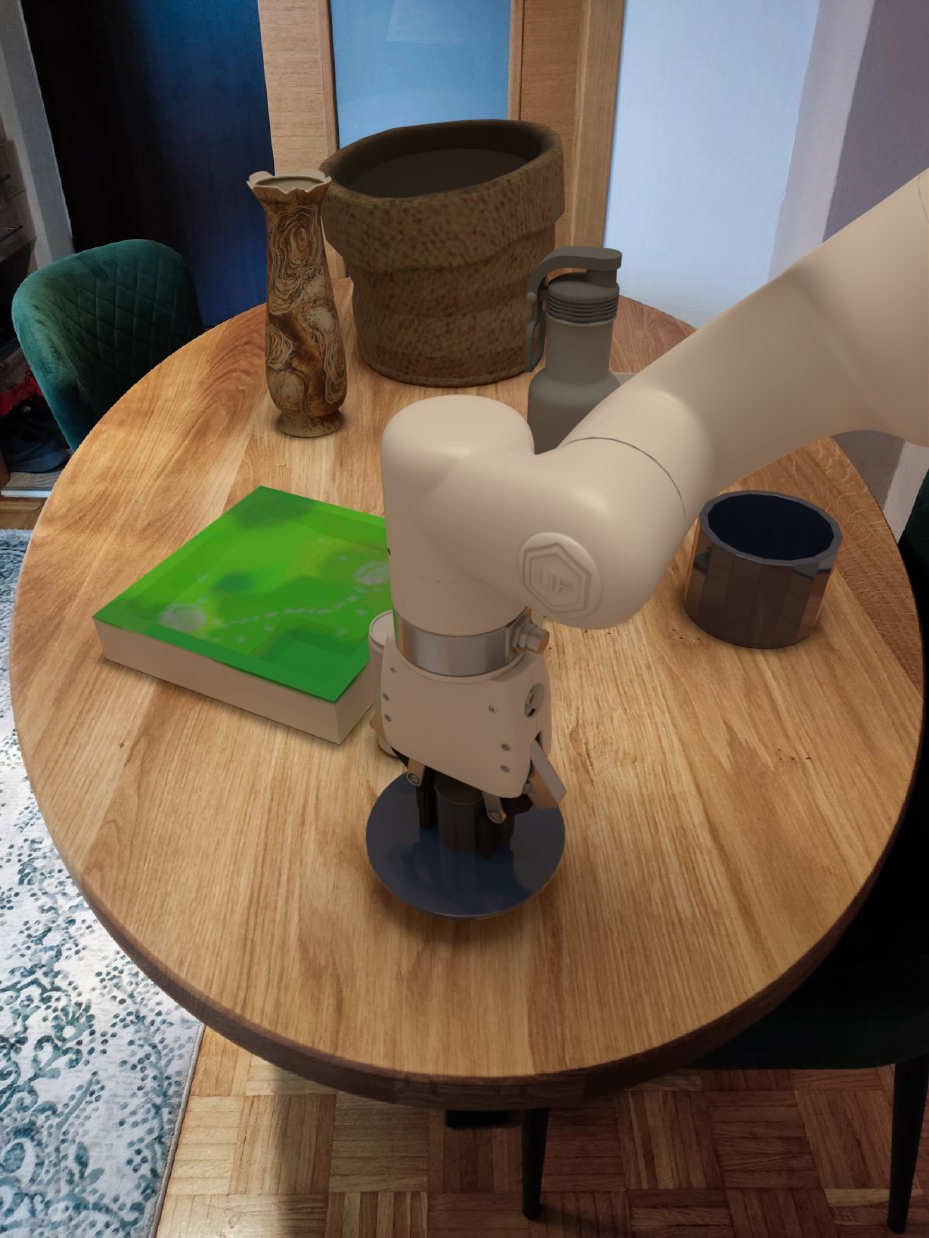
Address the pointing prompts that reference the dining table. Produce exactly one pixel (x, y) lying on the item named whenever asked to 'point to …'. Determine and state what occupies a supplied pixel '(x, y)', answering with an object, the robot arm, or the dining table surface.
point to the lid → (459, 852)
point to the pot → (445, 243)
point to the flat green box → (264, 612)
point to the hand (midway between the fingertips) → (465, 826)
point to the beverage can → (379, 662)
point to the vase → (300, 305)
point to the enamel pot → (760, 567)
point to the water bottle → (570, 340)
